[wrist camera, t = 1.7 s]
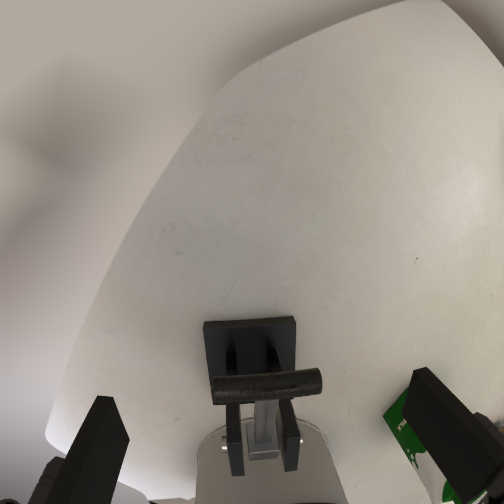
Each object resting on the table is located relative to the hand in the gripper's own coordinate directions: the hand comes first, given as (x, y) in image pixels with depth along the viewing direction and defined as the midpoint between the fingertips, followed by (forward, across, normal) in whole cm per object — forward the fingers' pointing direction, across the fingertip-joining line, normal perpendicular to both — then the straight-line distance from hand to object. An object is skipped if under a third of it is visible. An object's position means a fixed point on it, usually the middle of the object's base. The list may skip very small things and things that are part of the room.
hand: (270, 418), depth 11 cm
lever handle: (+5, 0, -4) cm, 7 cm away
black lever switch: (+18, 0, -9) cm, 20 cm away
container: (+19, +1, -27) cm, 33 cm away
